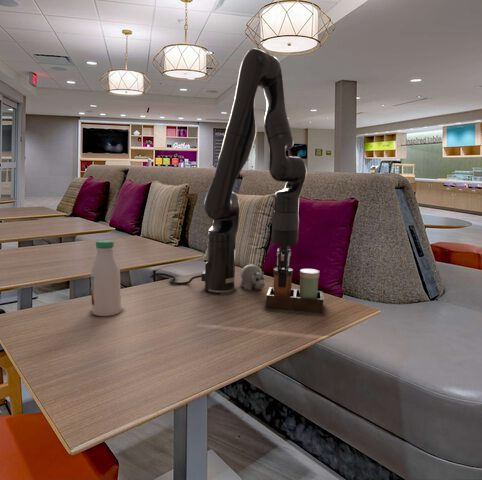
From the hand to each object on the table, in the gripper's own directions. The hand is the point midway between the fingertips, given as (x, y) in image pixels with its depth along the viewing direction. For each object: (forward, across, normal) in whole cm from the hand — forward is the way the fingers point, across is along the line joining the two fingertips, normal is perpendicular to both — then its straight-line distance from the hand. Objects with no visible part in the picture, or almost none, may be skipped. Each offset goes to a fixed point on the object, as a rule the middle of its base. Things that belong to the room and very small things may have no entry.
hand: (282, 283), depth 123 cm
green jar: (+7, 0, +8) cm, 10 cm away
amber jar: (+7, 0, 0) cm, 7 cm away
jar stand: (+7, 0, +4) cm, 8 cm away
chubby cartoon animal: (+7, -14, -10) cm, 19 cm away
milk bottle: (+7, +17, -47) cm, 51 cm away
